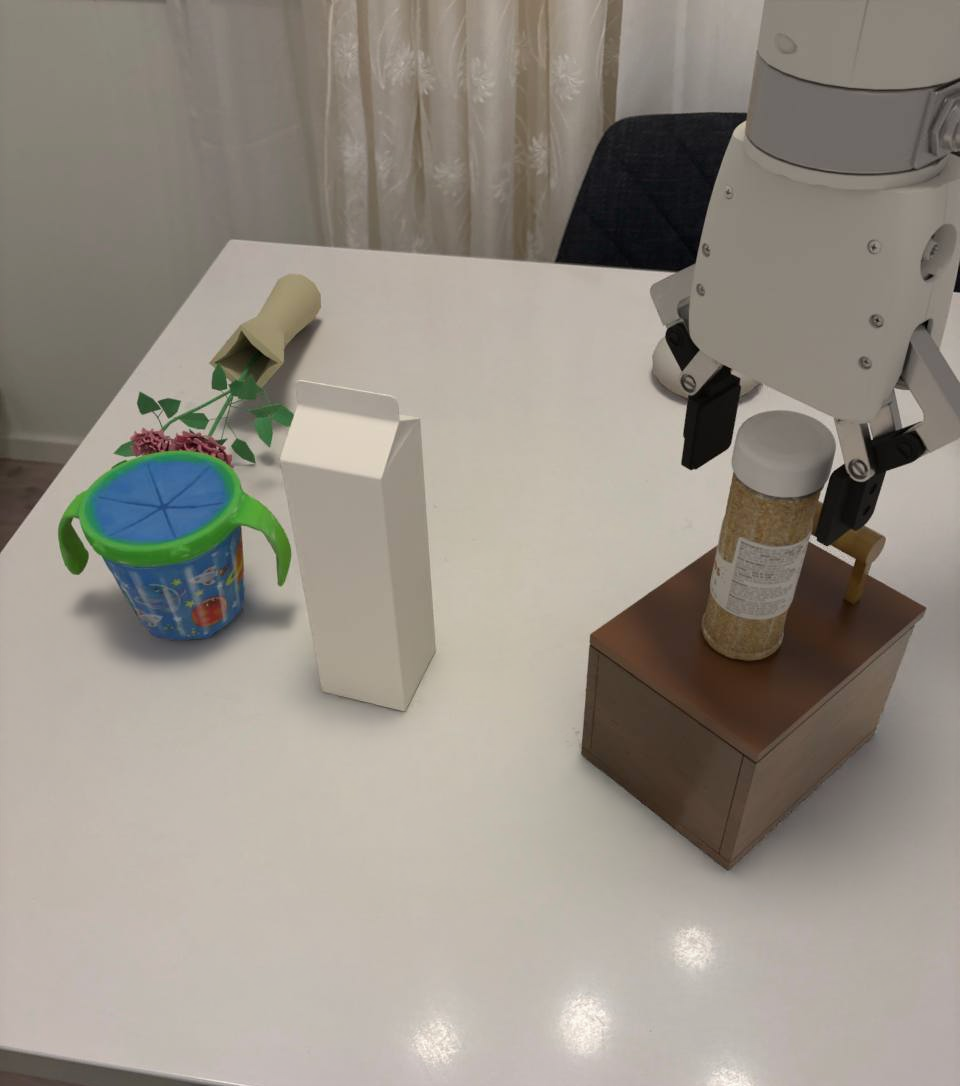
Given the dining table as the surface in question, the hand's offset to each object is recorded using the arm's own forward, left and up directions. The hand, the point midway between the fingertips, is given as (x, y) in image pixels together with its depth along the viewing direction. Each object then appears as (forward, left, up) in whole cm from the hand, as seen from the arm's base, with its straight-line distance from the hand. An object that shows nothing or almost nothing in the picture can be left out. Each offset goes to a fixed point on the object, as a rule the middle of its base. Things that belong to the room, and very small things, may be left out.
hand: (770, 490), depth 52 cm
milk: (+11, -20, -21) cm, 31 cm away
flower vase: (0, -51, -21) cm, 55 cm away
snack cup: (+17, -34, -21) cm, 43 cm away
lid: (-2, 0, -11) cm, 11 cm away
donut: (-33, -28, -21) cm, 48 cm away
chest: (-1, 0, -21) cm, 21 cm away
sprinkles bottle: (0, 0, -10) cm, 10 cm away
